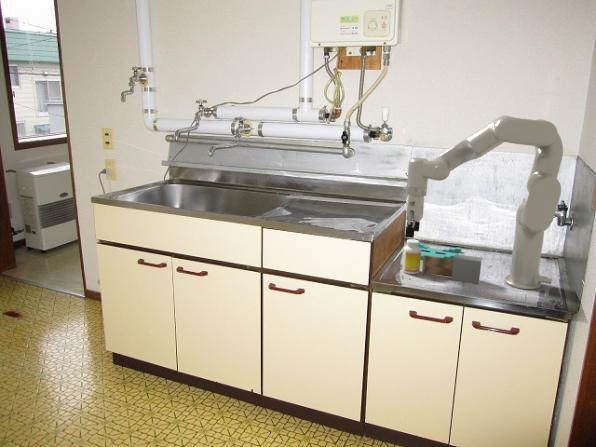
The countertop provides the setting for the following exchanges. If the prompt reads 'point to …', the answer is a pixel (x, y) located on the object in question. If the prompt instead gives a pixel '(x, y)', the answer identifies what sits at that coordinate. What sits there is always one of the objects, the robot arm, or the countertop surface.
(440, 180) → the robot arm
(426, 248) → the pixel art sprite
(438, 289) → the countertop surface
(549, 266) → the countertop surface
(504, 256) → the countertop surface
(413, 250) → the supplement bottle
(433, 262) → the brown flat slab
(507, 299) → the countertop surface
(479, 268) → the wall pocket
